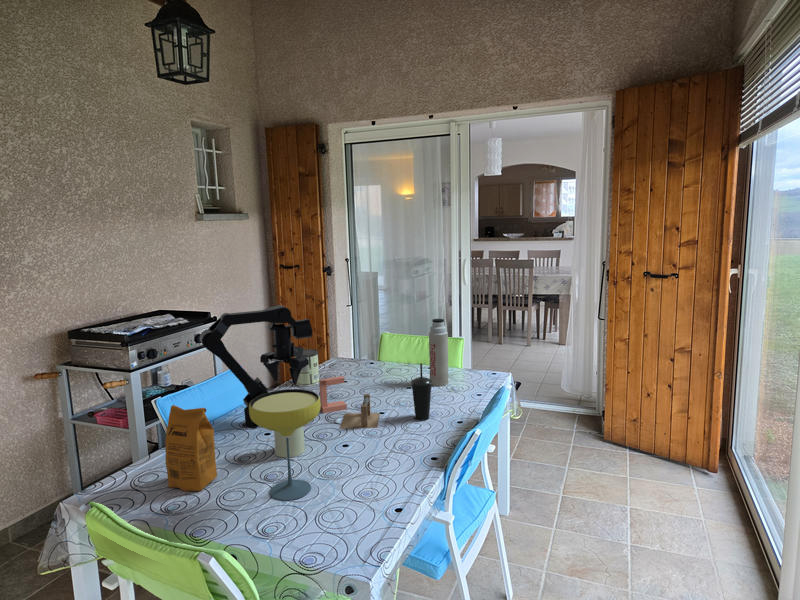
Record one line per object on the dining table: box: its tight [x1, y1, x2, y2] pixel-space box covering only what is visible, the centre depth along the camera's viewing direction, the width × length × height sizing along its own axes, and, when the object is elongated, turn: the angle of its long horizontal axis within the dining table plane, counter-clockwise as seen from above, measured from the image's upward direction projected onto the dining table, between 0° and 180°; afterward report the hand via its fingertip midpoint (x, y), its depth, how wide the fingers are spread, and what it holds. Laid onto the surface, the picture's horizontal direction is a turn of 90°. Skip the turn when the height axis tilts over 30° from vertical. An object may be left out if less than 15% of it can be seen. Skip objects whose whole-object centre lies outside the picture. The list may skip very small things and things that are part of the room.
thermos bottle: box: [428, 318, 449, 387], centre depth 226 cm, size 8×8×28 cm
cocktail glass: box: [249, 388, 321, 502], centre depth 139 cm, size 18×18×25 cm
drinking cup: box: [410, 363, 433, 421], centre depth 188 cm, size 8×8×20 cm
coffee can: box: [294, 348, 320, 387], centre depth 233 cm, size 10×10×14 cm
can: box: [273, 426, 306, 459], centre depth 164 cm, size 9×9×12 cm
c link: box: [318, 375, 348, 414], centre depth 198 cm, size 9×5×12 cm, turn 114°
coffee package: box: [165, 404, 218, 492], centre depth 145 cm, size 10×12×22 cm
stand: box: [338, 393, 381, 430], centre depth 186 cm, size 13×14×8 cm
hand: (285, 383), depth 191 cm, fingers open, 9 cm apart
